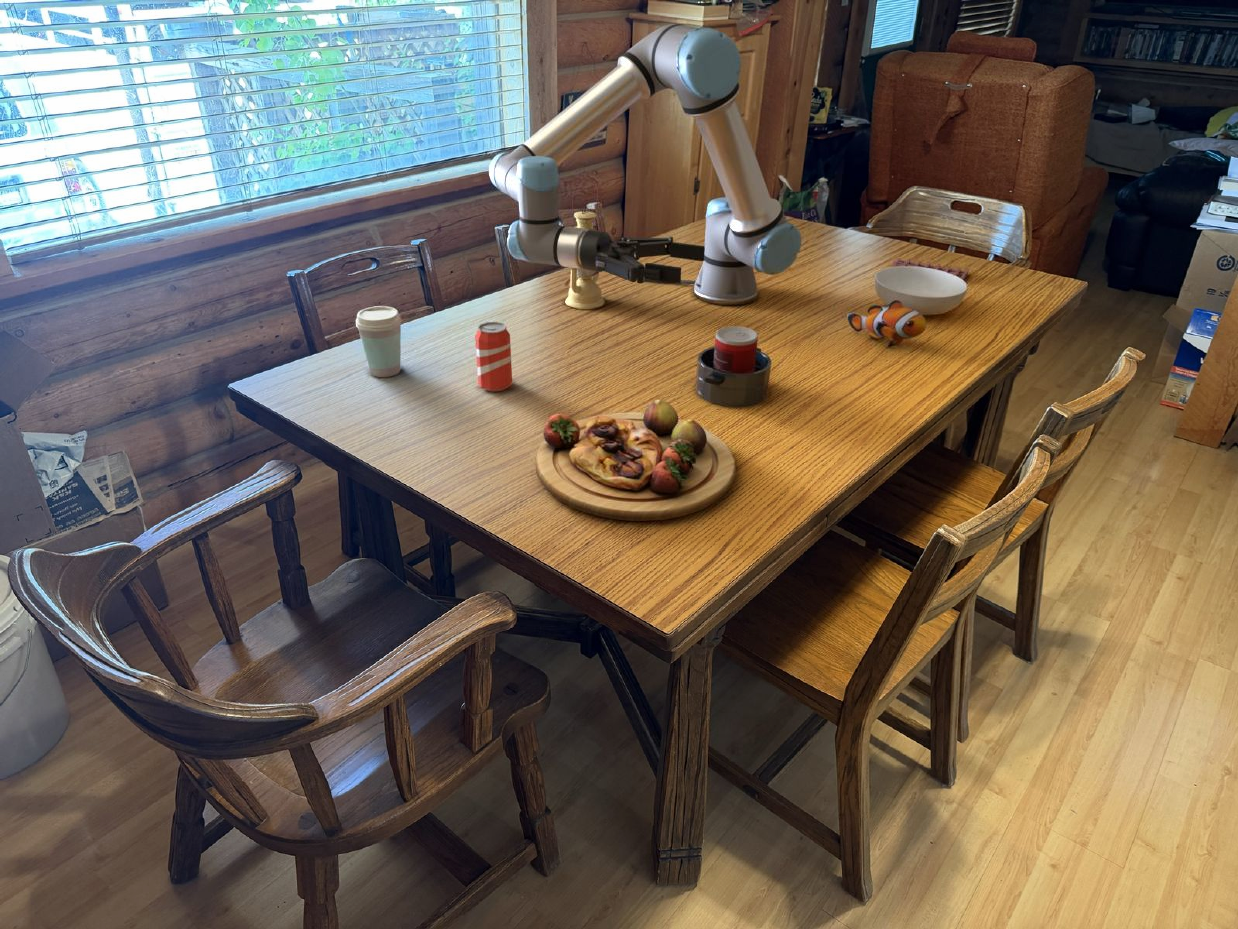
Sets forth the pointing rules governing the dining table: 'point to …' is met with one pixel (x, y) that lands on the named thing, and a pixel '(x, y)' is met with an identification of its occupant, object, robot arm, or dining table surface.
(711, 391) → the pot
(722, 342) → the canned food
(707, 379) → the pot handles
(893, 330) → the fish
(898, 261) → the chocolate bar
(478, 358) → the beverage can
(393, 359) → the coffee cup
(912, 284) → the serving bowl
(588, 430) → the wooden plate
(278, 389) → the dining table surface
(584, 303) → the lantern
